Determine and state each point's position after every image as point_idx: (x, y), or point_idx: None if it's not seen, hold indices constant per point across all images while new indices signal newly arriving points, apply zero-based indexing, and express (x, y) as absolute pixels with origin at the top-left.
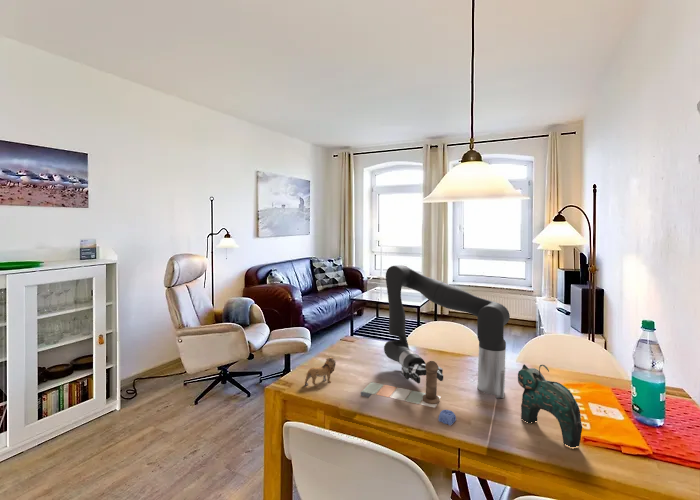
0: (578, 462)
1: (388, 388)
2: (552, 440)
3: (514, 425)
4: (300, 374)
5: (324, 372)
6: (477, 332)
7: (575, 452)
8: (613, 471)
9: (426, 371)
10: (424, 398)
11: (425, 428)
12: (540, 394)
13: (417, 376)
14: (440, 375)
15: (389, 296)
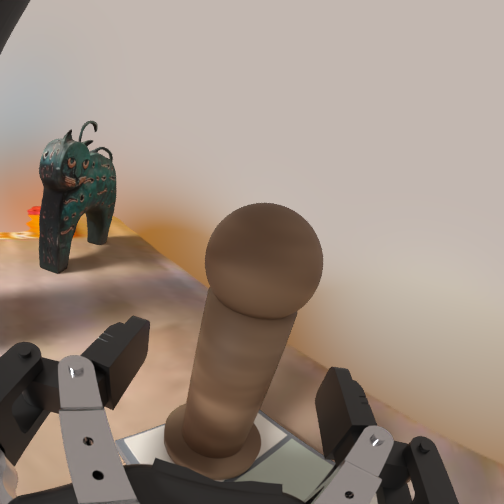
0: (130, 239)
1: None
2: (99, 250)
3: (93, 278)
4: None
5: None
6: None
7: (109, 240)
8: (118, 228)
9: (292, 319)
10: (257, 440)
11: (311, 361)
12: (94, 181)
13: (349, 377)
14: (146, 324)
15: None
